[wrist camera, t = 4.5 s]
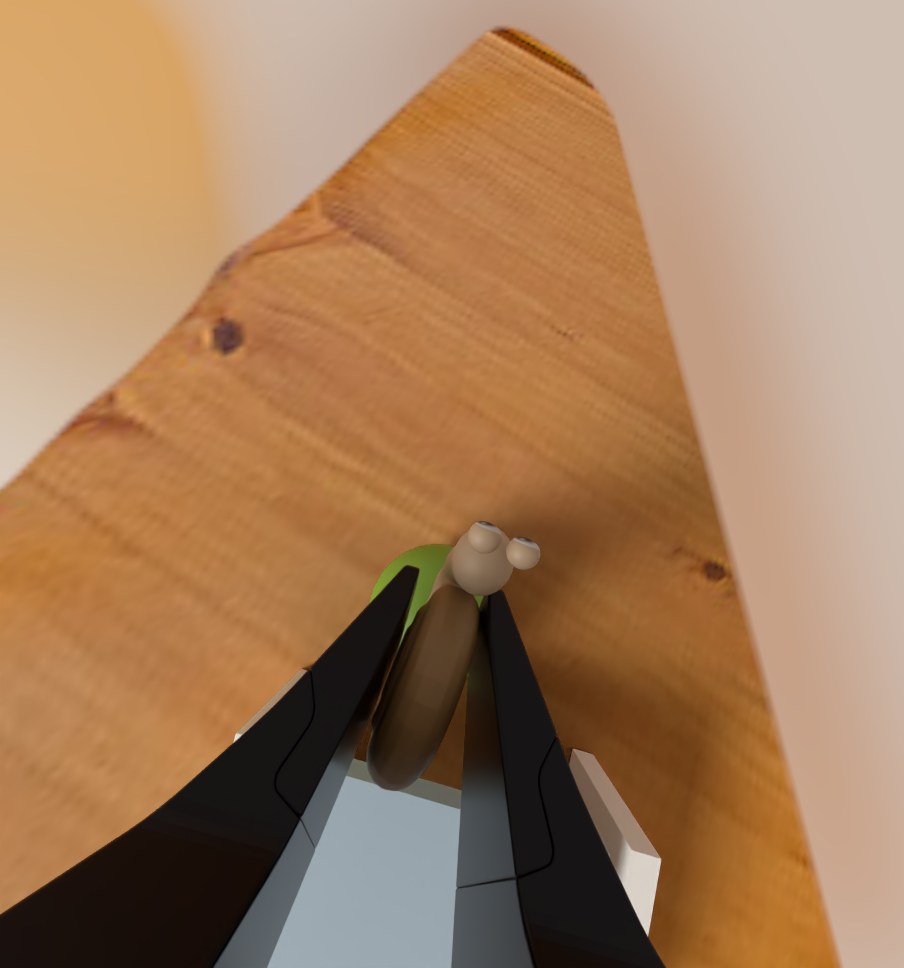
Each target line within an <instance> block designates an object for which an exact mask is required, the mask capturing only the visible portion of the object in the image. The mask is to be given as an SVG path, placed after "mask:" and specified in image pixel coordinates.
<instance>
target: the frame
mask: <svg viewBox="0 0 904 968" xmlns="http://www.w3.org/2000/svg"><path fill="white" fill-rule="evenodd" d="M306 671H307V670H304V669H300V670H299V671H298V672H297V673H296V674H295V675H294V676H293V677H292V678H291V679H290V680H289V681H288V682H287V683H286V684H285V685H284V686H283V687H282V688H281V689H280V690H279V691H278V692H277V693H276V694H275V695H274V696H273V697H272V698H271V699H270V700H269V701H268V702H267V703H266V704H265V705H264V706H263V707H262V708H261V709H260V710H259V711H258V712H257V713H256V714H255V715H254V716H253V717H252V718H251V719H250V720H249V721H248V722H247V723H246V724H245V725H244V726H243V727H242V728H241V729H240V730H239V731H238V732H237V733H236V736H235V739H234V742H235V741H236V740H237V739H238V738H239V737H240V736H242V735H243V734H244V733H245V732H246V731H247V730H248V729H249V728H250V727H252V726H253V725H254V724H255V723H256V722H257V721H258V720H259V719H260V718H261V717H262V716H263V715H264V714H265V713H266V712H268V711H269V710H270V709H271V708H272V707H273V706H274V705H275V704H276V703H277V702H278V701H279V700H280V699H281V698H282V697H283V696H284V695H285V694H286V693H287V692H288V691H289V690H290V689H291V687H292V686H293V685H294V684H295V683H296V682H297V681H298V680H299V679H300V678H301V677H302V676H303V675H304V674H305V673H306ZM234 742H233V743H234ZM569 767H570V769H571V772H572V774H573V777H574V779H575V782H576V784H577V786H578V789H579V791H580V793H581V796H582V798H583V800H584V802H585V805H586V807H587V809H588V811H589V814H590V816H591V818H592V820H593V822H594V825H595V827H596V829H597V831H598V832H599V834H600V836H601V838H602V840H603V842H604V844H605V846H606V848H607V850H608V852H609V854H610V855H609V857H610V859H611V861H612V863H613V865H614V867H615V869H616V872H617V874H618V876H619V878H620V880H621V882H622V884H623V887H624V889H625V891H626V893H627V895H628V897H629V899H630V901H631V904H632V906H633V908H634V910H635V912H636V914H637V916H638V918H639V920H640V922H641V924H642V926H643V928H644V930H645V932H646V934H647V936H648V934H649V928H650V922H651V916H652V911H653V905H654V899H655V893H656V888H657V882H658V876H659V870H660V864H661V858H660V856H659V855H658V853H657V852H656V850H655V848H654V847H653V845H652V844H651V842H650V841H649V839H648V838H647V836H646V835H645V833H644V832H643V830H642V829H641V827H640V826H639V824H638V822H637V821H636V819H635V818H634V816H633V815H632V813H631V812H630V810H629V809H628V807H627V806H626V804H625V803H624V801H623V800H622V798H621V796H620V795H619V793H618V792H617V790H616V789H615V787H614V786H613V784H612V783H611V781H610V780H609V778H608V777H607V775H606V774H605V772H604V770H603V769H602V767H601V766H600V764H599V763H598V761H597V760H596V758H595V757H594V755H593V754H590V753H587V752H583V751H580V750H577V749H572V753H571V758H570V763H569Z"/></svg>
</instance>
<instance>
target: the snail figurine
mask: <svg viewBox="0 0 904 968" xmlns="http://www.w3.org/2000/svg"><path fill="white" fill-rule="evenodd" d="M540 555H541V553H540V549H539V547H538V545H537V544H536V543H535V542H533V541H531V540H530V539H527V538H524V537H515V538H513V539H512V540H511V541H510V540H509V538H508V537H507V536H506V534H505V533H504V532H503V531H501V530H500V529H498V528H497V527H496V526H494V525H493V524H491V523H488V522H485V521H479V522H476V523H474V524H473V525H472V526H471V528H470V530H469V531H467V532H466V533H465V534H464V535H463V536H462V537H461V538H460V539H459V541H458V542H457V544H456V546H455V547H453V546H449V545H442V544H430V545H423V546H419V547H416V548H413V549H411V550H409V551H407V552H405V553H403V554H402V555H400V556H399V557H397V558H396V559H395V560H394V561H393V562H391V563H390V564H389V565H388V567H387V568H386V569H385V570H384V571H383V573H382V574H381V576H380V577H379V579H378V581H377V583H376V585H375V587H374V590H373V593H372V596H371V600H370V602H371V601H372V600H373V599H374V598H375V597H376V596H377V595H378V594H379V593H380V592H381V591H382V590H383V588H384V587H385V586H386V585H387V584H388V583H389V582H390V581H391V580H392V579H393V578H394V577H395V575H396V574H397V573H398V572H399V571H400V570H401V569H402V568H403V567H404V566H405V565H411V566H414V567H418V568H419V569H420V573H419V577H418V581H417V586H416V590H415V593H414V597H413V600H412V604H411V608H410V611H409V615H408V618H407V622H406V625H405V629H404V632H403V636H402V639H401V642H400V645H399V648H398V651H397V654H396V656H395V659H394V661H393V663H392V666H391V668H390V671H389V673H388V676H387V678H386V681H385V683H384V686H383V689H382V691H381V694H380V696H379V699H378V702H377V704H376V707H375V710H374V713H373V716H372V720H371V730H372V732H371V735H370V739H369V743H368V747H367V754H366V760H367V768H368V772H369V774H370V776H371V778H372V780H373V781H374V783H375V784H377V785H378V786H379V787H380V788H382V789H384V790H389V791H400V790H402V789H405V788H407V787H409V786H410V785H411V784H413V783H414V782H415V781H416V780H417V779H418V778H419V777H420V776H421V775H422V773H423V772H424V771H425V769H426V768H427V767H428V765H429V764H430V762H431V760H432V759H433V757H434V755H435V753H436V751H437V750H438V748H439V746H440V743H441V741H442V739H443V737H444V735H445V733H446V731H447V728H448V726H449V723H450V721H451V719H452V716H453V714H454V711H455V709H456V706H457V703H458V701H459V698H460V695H461V692H462V689H463V686H464V683H465V680H466V677H468V675H469V667H470V664H471V660H472V657H473V653H474V649H475V645H476V641H477V635H478V630H479V621H480V613H479V607H480V603H481V601H482V599H483V597H484V596H486V595H490V594H493V593H495V592H496V591H498V590H499V589H501V588H502V587H503V586H504V585H505V584H506V583H507V581H508V580H509V578H510V577H511V574H512V572H513V569H514V567H516V568H518V569H521V570H527V569H531V568H533V567H534V566H535V565H536V564H537V563H538V562H539V559H540Z"/></svg>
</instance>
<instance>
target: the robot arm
mask: <svg viewBox="0 0 904 968" xmlns="http://www.w3.org/2000/svg"><path fill="white" fill-rule="evenodd" d="M419 573H420V569H419V568H418V567H414V566H411V565H405V566H404V567H403V568H402V569H401V570H400V571H399V572H398V573H397V574H396V575H395V577H394V578H393V579H392V580H391V581H390V582H389V583H388V584H387V585H386V586H385V587H384V588H383V590H382V591H381V592H380V593H379V594H378V595H377V596H376V597H375V598H374V599H373V600H372V601H371V602H370V604H369V605H368V606H367V607H366V608H365V609H364V610H363V611H362V612H361V613H360V614H359V615H358V617H357V618H356V619H355V620H354V621H353V622H352V623H351V624H350V625H349V626H348V627H347V628H346V630H345V631H344V632H343V633H342V634H341V635H340V636H339V637H338V638H337V639H336V640H335V641H334V642H333V644H332V645H331V646H330V647H329V648H328V649H327V650H326V651H325V652H324V653H323V654H322V655H321V657H320V658H319V659H318V660H317V661H316V662H315V663H314V664H313V665H312V666H311V671H310V670H307V671H306V673H305V674H304V675H303V676H302V677H301V678H300V679H299V680H298V681H297V682H296V683H295V684H294V685H293V686H292V687H291V689H290V690H289V691H288V692H287V693H286V694H285V695H284V696H283V697H282V698H281V699H280V700H279V701H278V702H277V703H276V704H275V705H274V706H273V707H272V708H271V709H270V710H269V711H268V712H266V713H265V714H264V715H263V716H262V717H261V718H260V719H259V720H258V721H257V722H256V723H255V724H254V725H253V726H252V727H250V728H249V729H248V730H247V731H246V732H245V733H244V734H243V735H242V736H240V737H239V738H238V739H237V740H236V741H235V742H234V743H233V744H232V745H230V746H229V747H228V748H227V749H226V750H225V751H224V752H223V753H221V754H220V755H219V756H218V757H217V758H216V759H215V760H214V761H213V762H211V763H210V764H209V765H208V766H207V767H206V768H205V769H204V770H202V771H201V772H200V773H199V774H198V775H197V776H196V777H195V778H194V779H192V780H191V781H190V782H189V783H188V784H187V785H186V786H184V787H183V788H182V789H181V790H180V791H179V792H178V793H176V794H175V795H174V796H173V797H172V798H170V799H169V800H168V801H167V802H166V803H164V804H163V805H162V806H161V807H159V808H158V809H157V810H156V811H154V812H153V813H152V814H150V815H149V816H148V817H146V818H145V819H144V820H142V821H141V822H140V823H138V824H137V825H135V826H134V827H133V828H131V829H130V830H128V831H127V832H125V833H123V834H122V835H120V836H119V837H117V838H116V839H114V840H113V841H111V842H110V843H108V844H107V845H105V846H104V847H102V848H101V849H99V850H98V851H96V852H95V853H93V854H92V855H90V856H88V857H87V858H85V859H84V860H82V861H81V862H79V863H78V864H76V865H75V866H73V867H72V868H70V869H69V870H67V871H66V872H64V873H63V874H61V875H60V876H58V877H56V878H55V879H53V880H52V881H50V882H49V883H47V884H46V885H44V886H43V887H41V888H40V889H38V890H37V891H35V892H34V893H32V894H31V895H29V896H28V897H26V898H24V899H23V900H21V901H20V902H18V903H17V904H15V905H14V906H12V907H11V908H9V909H8V910H6V911H5V912H3V913H2V914H0V968H267V967H268V964H269V962H270V959H271V957H272V954H273V952H274V950H275V947H276V945H277V942H278V940H279V937H280V935H281V933H282V930H283V928H284V925H285V923H286V920H287V918H288V916H289V913H290V911H291V908H292V906H293V903H294V901H295V899H296V896H297V894H298V891H299V889H300V887H301V884H302V882H303V879H304V877H305V874H306V872H307V870H308V867H309V865H310V862H311V860H312V857H313V855H314V853H315V848H316V847H317V845H318V843H319V840H320V838H321V835H322V833H323V831H324V828H325V826H326V823H327V821H328V819H329V816H330V814H331V811H332V809H333V806H334V804H335V802H336V799H337V797H338V794H339V792H340V789H341V787H342V785H343V782H344V780H345V777H346V775H347V772H348V770H349V768H350V765H351V763H352V760H353V758H354V756H355V753H356V751H357V748H358V746H359V743H360V741H361V739H362V736H363V734H364V731H365V729H366V726H367V724H368V722H369V719H370V717H371V714H372V712H373V709H374V707H375V705H376V702H377V700H378V697H379V695H380V692H381V690H382V688H383V685H384V683H385V680H386V678H387V676H388V673H389V671H390V668H391V666H392V663H393V661H394V659H395V656H396V654H397V651H398V648H399V645H400V642H401V639H402V636H403V632H404V629H405V625H406V622H407V618H408V615H409V611H410V608H411V604H412V600H413V597H414V593H415V590H416V586H417V581H418V577H419ZM479 613H480V621H479V630H478V635H477V641H476V645H475V649H474V653H473V657H472V660H471V664H470V667H469V675H468V691H467V708H466V725H465V742H464V759H463V776H462V793H461V810H460V827H459V844H458V861H457V878H456V887H457V889H456V893H455V910H454V927H453V944H452V961H451V968H666V967H665V965H664V964H663V962H662V960H661V959H660V957H659V955H658V954H657V952H656V950H655V948H654V947H653V945H652V943H651V941H650V940H649V938H648V936H647V934H646V932H645V930H644V928H643V926H642V924H641V922H640V920H639V918H638V916H637V914H636V912H635V910H634V908H633V906H632V904H631V901H630V899H629V897H628V895H627V893H626V891H625V889H624V887H623V884H622V882H621V880H620V878H619V876H618V874H617V872H616V869H615V867H614V865H613V863H612V861H611V859H610V857H609V854H608V852H607V850H606V848H605V846H604V844H603V842H602V840H601V837H600V835H599V833H598V831H597V829H596V827H595V825H594V822H593V820H592V818H591V816H590V814H589V811H588V809H587V807H586V805H585V802H584V800H583V798H582V796H581V793H580V791H579V789H578V786H577V784H576V782H575V779H574V777H573V774H572V772H571V769H570V767H569V764H568V762H567V759H566V756H565V754H564V751H563V748H562V746H561V743H560V740H559V738H558V737H556V735H557V733H556V730H555V727H554V725H553V722H552V719H551V717H550V714H549V711H548V709H547V706H546V703H545V701H544V698H543V695H542V693H541V690H540V687H539V685H538V682H537V679H536V677H535V674H534V671H533V669H532V666H531V663H530V661H529V658H528V655H527V653H526V650H525V647H524V645H523V642H522V639H521V637H520V634H519V631H518V629H517V626H516V623H515V621H514V618H513V615H512V613H511V610H510V607H509V605H508V602H507V599H506V597H505V594H504V592H503V591H502V590H500V589H499V590H498V591H496V592H495V593H493V594H490V595H486V596H484V597H483V599H482V601H481V603H480V607H479Z"/></svg>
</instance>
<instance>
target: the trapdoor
mask: <svg viewBox="0 0 904 968" xmlns="http://www.w3.org/2000/svg"><path fill="white" fill-rule="evenodd" d="M461 793H462V790H459V789H455V788H452V787H448V786H445V785H442V784H438V783H435V782H432V781H428V780H425V779H421V778H418V779H417V780H416V781H415V782H414V783H413V784H411V785H410V786H409V787H407V788H405V789H402V790H400V791H389V790H384V789H382V788H380V787H379V786H378V785H377V784H375V783H374V781H373V780H372V778H371V776H370V774H369V772H368V768H367V762H364V761H361V760H357V759H354V758H353V760H352V763H351V765H350V768H349V770H348V772H347V775H346V777H345V780H344V782H343V785H342V787H341V789H340V792H339V794H338V797H337V799H336V802H335V804H334V806H333V809H332V811H331V814H330V816H329V819H328V821H327V823H326V826H325V828H324V831H323V833H322V835H321V838H320V840H319V843H318V845H317V847H316V848H315V853H314V855H313V857H312V860H311V862H310V865H309V867H308V870H307V872H306V874H305V877H304V879H303V882H302V884H301V887H300V889H299V891H298V894H297V896H296V899H295V901H294V903H293V906H292V908H291V911H290V913H289V916H288V918H287V920H286V923H285V925H284V928H283V930H282V933H281V935H280V937H279V940H278V942H277V945H276V947H275V950H274V952H273V954H272V957H271V959H270V962H269V964H268V967H267V968H451V961H452V944H453V927H454V910H455V893H456V889H457V887H456V878H457V861H458V844H459V827H460V810H461ZM598 833H599V832H598ZM599 835H600V834H599ZM600 837H601V836H600ZM601 840H602V838H601ZM602 842H603V840H602ZM603 844H604V842H603ZM604 846H605V844H604ZM605 848H606V846H605ZM606 850H607V848H606ZM607 852H608V850H607ZM608 854H609V852H608ZM609 855H610V854H609Z"/></svg>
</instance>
